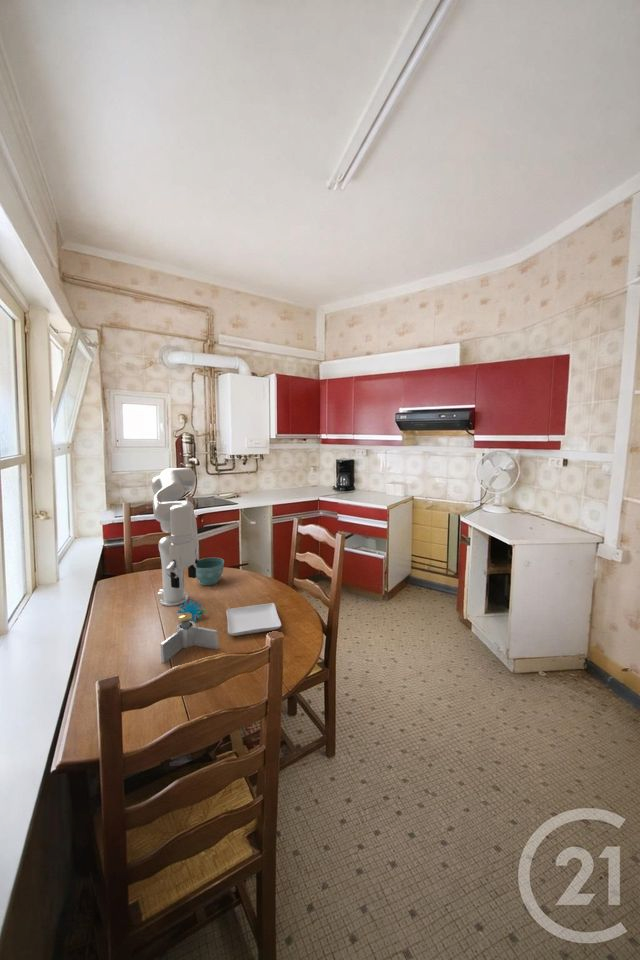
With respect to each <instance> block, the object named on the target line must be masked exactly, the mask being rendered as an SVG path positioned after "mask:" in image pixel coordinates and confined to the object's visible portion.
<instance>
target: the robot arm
mask: <svg viewBox="0 0 640 960" xmlns="http://www.w3.org/2000/svg"><path fill="white" fill-rule="evenodd" d="M195 484H196V473H195V471H194V470H193V469H192V468H191V467H177V468H176V467H173V468H166V469H164V470H162V471H161V472H160V475H157V476H155V477H153V478H152V480H151V488H152V492H153V494H154V496H153V500H152V509H153V516H154V518H155V520H156V521H157V522H159V524H160V529H161V531H162V532H163V533H165V534H166V533H168V534H169V533H170V535H166V536H164V537H162V538H160V539H159V541H158V544H157V545H158V550H159V556H160V560H161V561H160V562H161V575H162V576H161V577H162V579H161V580H162V588H159V590H158V592H157V596H161V598H160V600H159V603H160V605H162V606H166V607H174V606H180V605H181V604H182V605H183V604H184V601H187V602H188V600H189V595H188V594H187V593H186V591H185V569H187V572H188V573H187V577H188V578H189V579H191V578H192V579H197V578H196V567H197V565H196V564H197V562H198V560H199V555H200V554H199V553H197V551H198V550H199V536H198V524H197V523H198V522H197V517H196V515H195V508H194V504H193V503H192V502H191V501H190V500H188V499H187V500H180V499H181V498H182V497H183V495H184V493H189V492H191V491H192V490H193V488H194V486H195Z"/></svg>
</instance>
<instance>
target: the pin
mask: <svg viewBox="0 0 640 960" xmlns="http://www.w3.org/2000/svg"><path fill="white" fill-rule="evenodd" d="M191 618H192V613H190V612H185V613H179V614H178V621H179V622H180V623H181V628H183V629H185V628H189V627H190V619H191ZM192 619H193V618H192ZM192 619H191V620H192Z"/></svg>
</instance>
